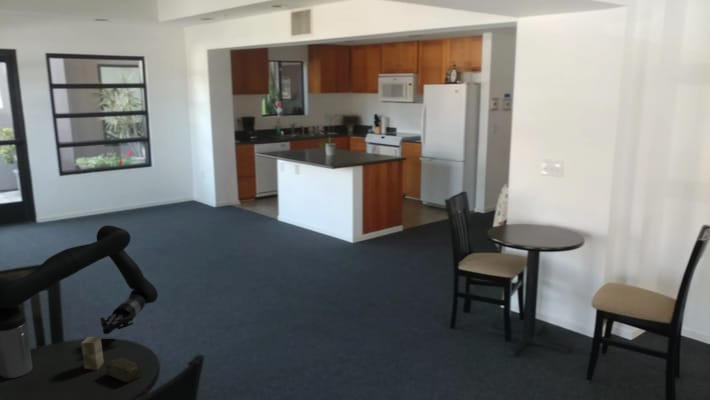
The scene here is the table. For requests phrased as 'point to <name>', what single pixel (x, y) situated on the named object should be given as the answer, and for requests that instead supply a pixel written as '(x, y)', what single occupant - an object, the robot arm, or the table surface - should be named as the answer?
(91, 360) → the maple block
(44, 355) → the table surface
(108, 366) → the stone block
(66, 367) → the table surface
